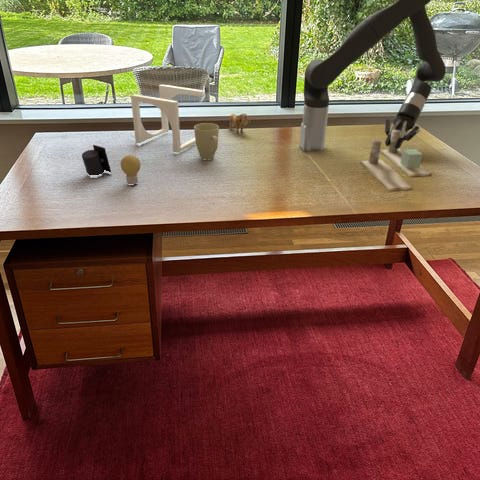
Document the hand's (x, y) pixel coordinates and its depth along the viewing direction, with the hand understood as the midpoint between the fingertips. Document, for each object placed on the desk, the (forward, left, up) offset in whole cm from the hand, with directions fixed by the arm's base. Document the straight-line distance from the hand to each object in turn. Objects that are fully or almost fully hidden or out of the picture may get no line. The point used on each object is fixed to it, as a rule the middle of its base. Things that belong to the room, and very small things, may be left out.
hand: (391, 146), depth 185 cm
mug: (-68, +9, -4) cm, 69 cm away
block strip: (+2, -9, -3) cm, 10 cm away
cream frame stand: (-81, +29, -4) cm, 86 cm away
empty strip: (-10, -18, -3) cm, 21 cm away
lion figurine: (-52, +39, -4) cm, 65 cm away
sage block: (+2, -13, -2) cm, 13 cm away
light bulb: (-96, -10, -4) cm, 97 cm away
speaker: (-108, -1, -4) cm, 108 cm away
